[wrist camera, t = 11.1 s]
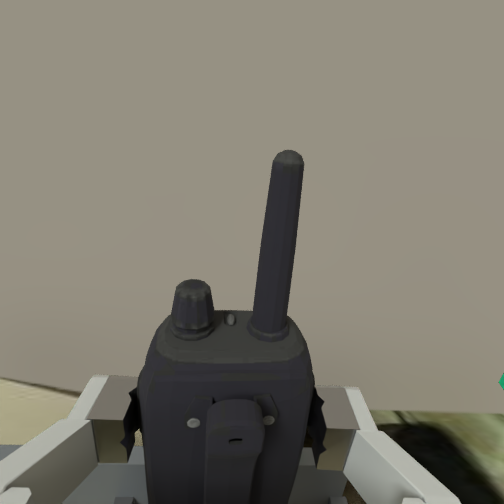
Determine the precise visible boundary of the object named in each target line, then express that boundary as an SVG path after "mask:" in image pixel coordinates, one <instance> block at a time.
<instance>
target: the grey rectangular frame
mask: <svg viewBox="0 0 504 504" xmlns="http://www.w3.org/2000/svg"><path fill="white" fill-rule="evenodd" d="M113 504H134V497H115V500H114V503H113Z"/></svg>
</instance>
